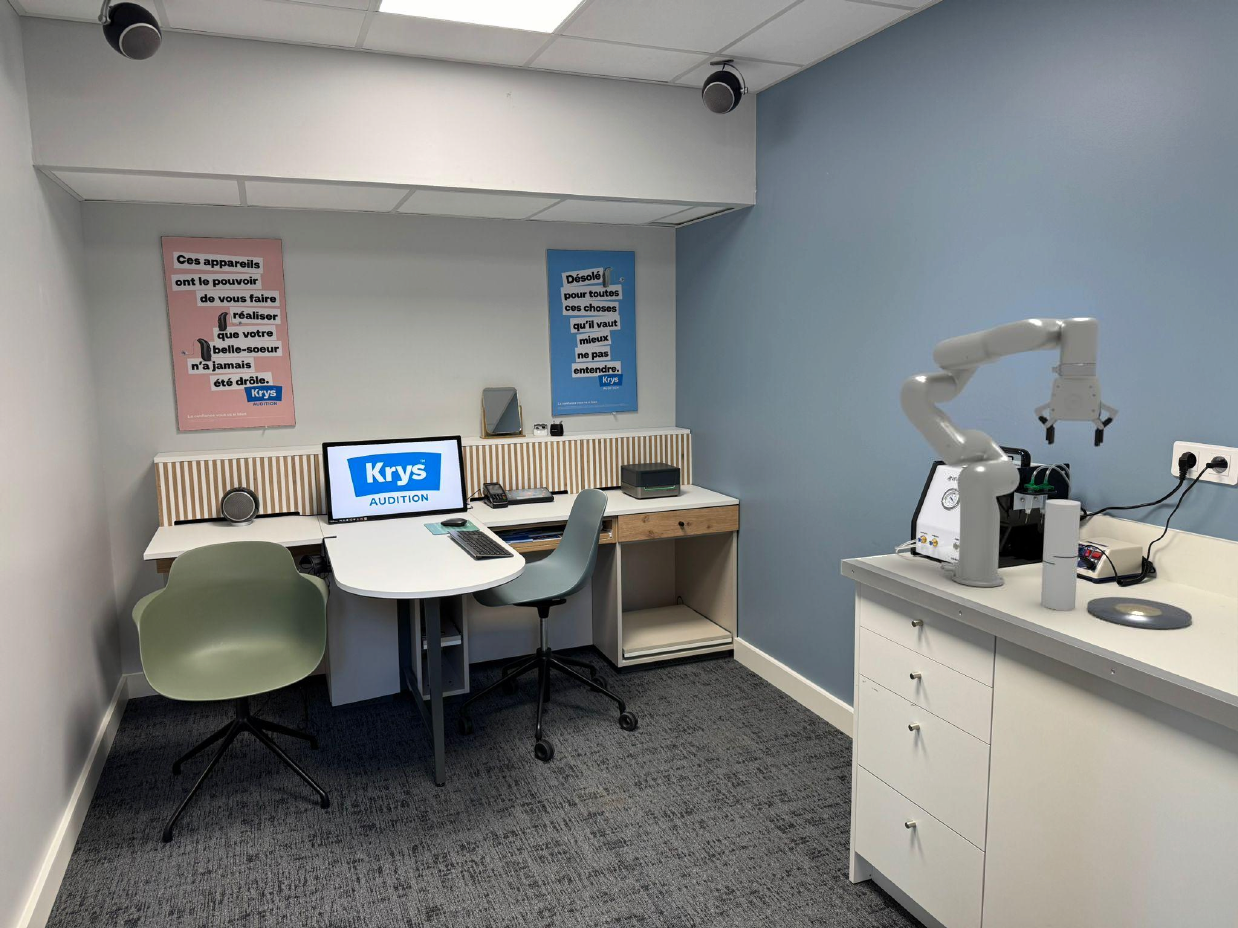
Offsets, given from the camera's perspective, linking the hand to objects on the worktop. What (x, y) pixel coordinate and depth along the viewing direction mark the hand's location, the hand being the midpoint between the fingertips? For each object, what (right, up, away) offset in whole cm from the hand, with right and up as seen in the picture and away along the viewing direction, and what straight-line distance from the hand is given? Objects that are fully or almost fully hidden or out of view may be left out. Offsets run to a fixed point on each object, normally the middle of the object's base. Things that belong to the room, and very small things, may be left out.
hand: (1073, 445), depth 191 cm
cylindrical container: (-3, -38, +2) cm, 38 cm away
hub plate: (+11, -39, -6) cm, 41 cm away
